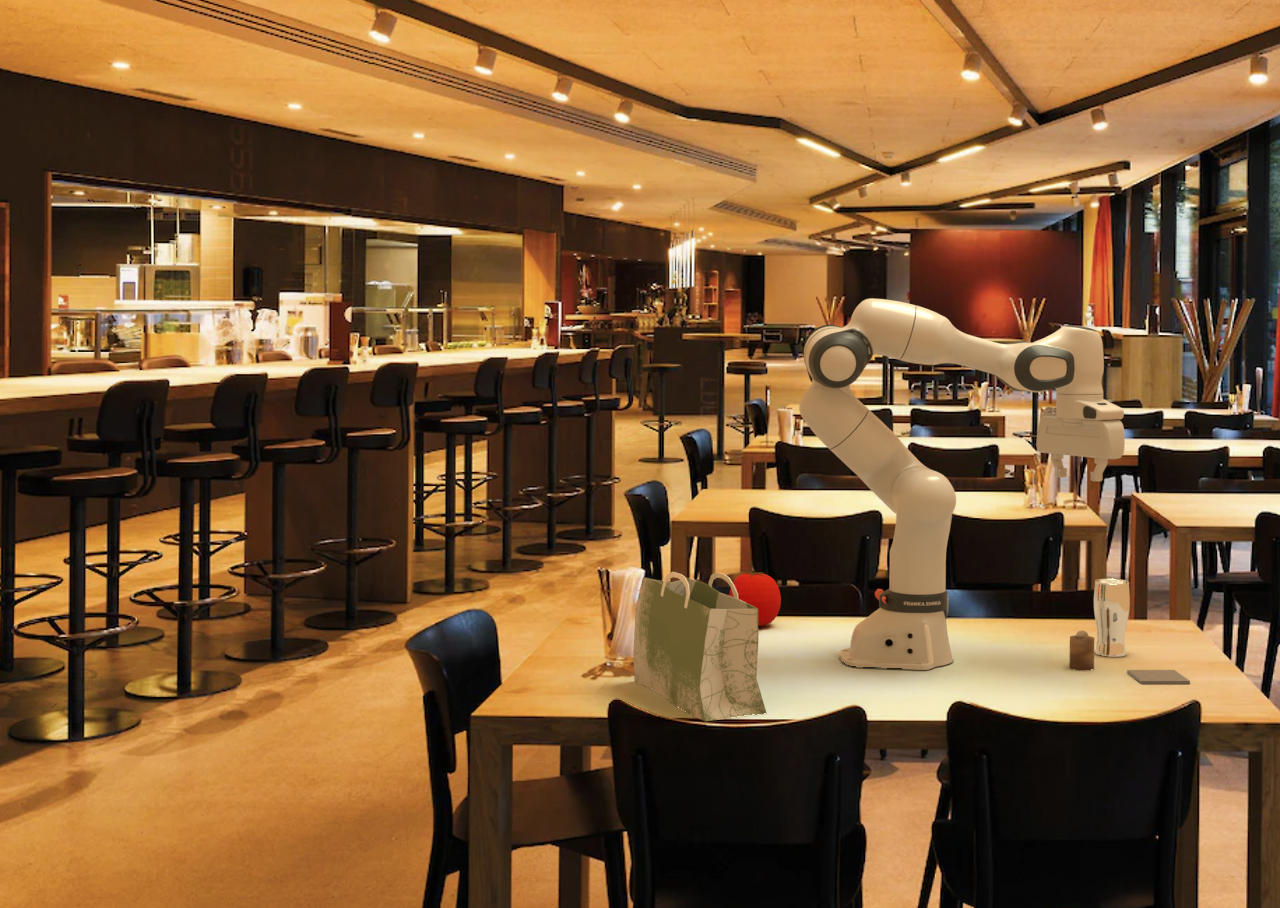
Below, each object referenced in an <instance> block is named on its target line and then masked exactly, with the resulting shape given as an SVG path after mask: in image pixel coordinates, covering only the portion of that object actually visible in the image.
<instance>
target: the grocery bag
mask: <svg viewBox="0 0 1280 908" xmlns="http://www.w3.org/2000/svg"><path fill="white" fill-rule="evenodd" d="M673 578H675V579H678V580H675V581H671V582H669V580H671V579H673ZM717 578H718V579H722V580H724V581H725V582H726V583H727V584H728V585H729V587H730V589H732V593H733V596H734V597H731V596H729V594H726V593H722V592H720V591H719V590H716V589H715V588H714V587H713V582H714V580H716V579H717ZM733 582H734V581H732V579H731V578H730V577H729V576H728V575H726V574H725V573H721V572H718V571H715V572H713V573H712V574H711V575H710V578H709V580H708V583H705V582H702V581H699V580H697V579H694V578H690V577H686V576H685V575H683V574H682V573H679V572H676V571H671V572H669V573H668V574H667V575H666V576H665V578H664V580H659V579H653V578H649V577H644V576H643V577H642V579H641V583H640V588H639V592H638V596H637V600H636V605H635V610H634V611H635V614H634V634H633V676H634V682H635V681H636V682H635V683H637V682H638V683H637V684H639V683H640V684H639V685H641V684H642V686H644V685H645V686H644V687H646V686H647V688H648V687H649V688H648V689H651V688H652V689H651V690H653V691H654V690H655V691H654V692H655V693H657V692H658V693H659V695H660V696H661V695H662V696H663V697H662V696H661V697H662V698H664V697H665V698H666V699H665V698H664V699H665V700H667V699H668V700H669V701H671V702H672V703H673V704H675V705H676V706H677V707H679V708H680V709H682V710H684V711H686V712H688V713H689V714H688V713H687V714H688V715H690V714H692V715H693V716H692V715H691V716H692V717H694V716H695V717H694V718H697V719H699V720H701V721H704V722H709V721H717V720H726V719H727V720H728V719H732V718H731V717H736V718H738V717H737V716H744V715H752V714H755V715H754V716H758V715H757V714H761V715H766V714H768V713H767V709H766V707H765V703H764V699H763V697H762V693H761V689H760V686H759V682H758V679H757V671H758V669H757V668H758V655H759V654H758V652H759V627H758V608H756V607H754V606H752V605H750V604H748V603H745V602H743V601H741V600H739V599H738V593H737V590H736V588H735V586H734V584H733ZM658 693H657V694H658ZM668 700H667V701H668ZM669 701H668V702H669ZM671 702H670V703H671ZM672 703H671V704H672ZM673 704H672V705H673ZM675 705H674V706H675ZM676 706H675V707H676ZM677 707H676V708H677ZM679 708H678V709H679ZM680 709H679V710H680ZM684 711H683V712H684ZM686 712H685V713H686ZM764 713H766V714H764ZM744 717H745V716H744Z"/></svg>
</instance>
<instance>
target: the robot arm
mask: <svg viewBox="0 0 1280 908" xmlns="http://www.w3.org/2000/svg"><path fill="white" fill-rule="evenodd" d="M874 355H877V356H878V355H879V356H884V357H888V358H891V359H895V360H899V361H903V362H906V363H909V364H910V363H911V364H915V365H916V364H918V365H926V366H935V365H940V364H953V365H958V366H963V367H966V368H970V369H974V370H978V371H980V372H985V373H988V374H990V375H992V376H994V377H996V379H998V380H999V382H1001V383H1002V384H1004V385H1005V386H1006V387H1008V388H1009V389H1011V390H1013V391H1017V392H1029V393H1042V392H1046V391H1049V390H1053V389H1055V390H1056V394H1055V395H1056V399H1055V404H1056V405H1055V407H1052V406H1047V407H1046V406H1045V408H1044V409H1043V410H1042V411H1041V412H1040V415H1039V416H1040V417H1039V418H1040V419H1039V421H1038V422H1039V423H1038V426H1037V427H1038V428H1037V433H1036V443H1035V444H1036V445H1035V446H1036V449H1037V451H1038V452H1039V453H1040V454H1041V453H1043V454H1050V461H1051V464H1052V465H1053V467H1054V477H1056V478H1066V477H1067V475H1068V473H1067V472H1068V468H1067V467H1065V466H1064V463H1063V459H1064V456H1072V457H1083V458H1090V459H1091V458H1092V459H1094V464H1095V467H1094V470H1093V471H1090V475H1089V476H1090V478H1089V479H1090V481H1092V482H1102V481H1103V474H1104V471H1105V469H1106V468H1107V465H1108V464H1109V463H1108V462H1109V461H1108V460H1116V459H1117V460H1118V459H1121V458H1122V457H1123V455H1124V453H1125V428H1124V424H1123V423H1122V421H1121V420H1122V419H1123V418H1124V415H1125V413H1124V409H1123V407H1120V406H1118V405H1117V404H1115V403H1112V402H1110V401H1109V400H1107V399H1104V389H1103V385H1102V379H1103V375H1104V371H1105V370H1104V369H1105V364H1104V363H1105V361H1104V359H1105V358H1104V343H1103V340H1102V336H1101V334H1100V333H1099V332H1098V331H1097V330H1095V329H1094V328H1091V327H1087V326H1081V325H1074V324H1067V325H1066V324H1065V325H1062V326H1061V327H1060V328H1059V329H1057V330H1056V331H1055V332H1053V333H1052V334H1049V335H1048V336H1045V337H1044V338H1041V339H1038V340H1035V341H1033V342H1031V341H1026V340H1025V341H1024V340H1022V341H1013V342H1009V343H1000V342H995V341H991V340H989V339H984V338H981V337H977V336H975V335H971V334H967V333H965V332H962V331H961V330H959V329H957V328H956V327H955V326H954V325H953V324H952V322H951V321H950V320H949V319H948V318H947V317H946V316H944V315H941V314H940V313H938V312H936V311H933V310H931V309H928V308H925V307H924V306H923V307H922V306H920V305H916V304H911V303H907V302H904V301H903V302H902V301H899V300H893V299H892V300H891V299H885V298H866V299H864V300H862V301H861V302H860V303H859V304H858V305H857V306H856V307H855V309H854V311H853V313H852V314H851V318H850V321H849V322H848V324H846V325H844V326H843V327H842V326H839V325H837V324H835V325H834V324H823V325H821V326H819V327H816V328H815V329H813V330H812V331H811V332H810V333H809V334H808V335H807V337H806V339H805V341H804V344H803V346H802V357H803V362H804V365H805V367H806V371H807V375H808V379H809V380H810V382H811V385H810V386H809V388H808V389H807V390H806V391H805V392H804V394H803V395H802V397H801V399H800V402H799V406H798V407H799V415H800V416H801V418H802V419H803V421H804V422H805V423H806V425H807V426H808V428H810V430H811V431H812V432H813V433H814V435H815V436H816V437H817V438H818V439H819V440H820V441H821V443H822V444H823V445H824V446H826V448H828V450H830V451H831V452H832V453H833V454H834V455H835V456H836V457H837V458H838V459H839V460H841V462H842V463H844V464H845V466H847V467H848V468H849V470H851V471H852V472H853V474H855V475H857V477H858V478H859V479H860V480H861V481H862V482H863V483H864V484H865V486H867V488H869V490H871V492H872V493H873V494H875V496H876V497H877V498H878V499H880V500H881V502H882V503H884V505H885V506H886V507H888V508H889V509H890V510H891V512H893V513H894V514H896V515H895V518H896V519H895V527H894V534H893V540H892V544H891V546H890V549H889V588H888V589H886V590H885V591H884V590H883V589H881V588H877V589H876V591H874V597H875V598H876V599H877V600H878V604H879V605H878V607H879V608H877V610H875V611H873V612H872V613H871V614H870V615H869V616H867V617H866V618H864V619H863V620H862V621H860V622H859V623H857V624H856V625H855V626H854V629H853V632H852V634H851V639H850V644H849V647H845V648H843V649H841V650H840V652H839V656H840V658H839V660H840V659H841V660H840V662H841V661H842V662H844V663H845V664H844V663H843V664H844V665H846V664H847V665H846V666H848V665H850V666H849V667H851V666H856V667H855V668H863V667H884V668H883V669H887V668H902V669H901V670H912V671H915V670H916V671H928V670H932V669H933V668H937V667H941V666H946V665H948V664H951V663H952V662H954V657H953V655H952V650H951V646H950V640H949V634H948V627H947V625H948V624H947V619H948V615H949V594H948V591H947V589H946V586H947V585H946V583H947V582H946V580H947V579H946V578H947V577H946V575H947V574H946V573H947V572H946V571H947V569H946V568H947V567H946V566H947V564H946V563H947V562H946V561H947V547H948V541H949V538H950V537H949V536H950V532H951V524H952V519H953V513H954V511H955V508H956V504H957V495H956V491H955V488H954V487H953V485H952V483H951V482H950V481H949V479H948V478H947V477H946V476H945V475H944V474H942V473H940V472H938V471H936V470H933V469H931V468H929V467H928V466H925V464H923V463H922V462H921V461H920V460H918V458H917V457H916V456H915V455H914V454H913V453H912V452H911V450H909V449H908V447H907V446H906V445H905V444H904V443H903V442H902V441H901V440H900V439H899V436H898V435H896V433H894V431H893V430H891V429H890V428H889V427H888V426H887V425H886V424H885V423H884V422H883V421H882V420H881V419H880V418H879V417H878V416H877V415H875V414H874V413H873V412H872V411H871V410H870V408H868V407H867V406H866V405H865V404H863V403H862V402H861V401H860V400H859V399H858V398H857V396H855V394H854V393H853V392H852V389H851V385H852V384H853V383H854V382H856V381H857V379H859V377H860V376H861V375H862V374H863V372H864V370H865V368H866V367H867V365H868V364H869V363H870V361H871V360H872V358H873V356H874ZM842 662H841V663H842Z"/></svg>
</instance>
